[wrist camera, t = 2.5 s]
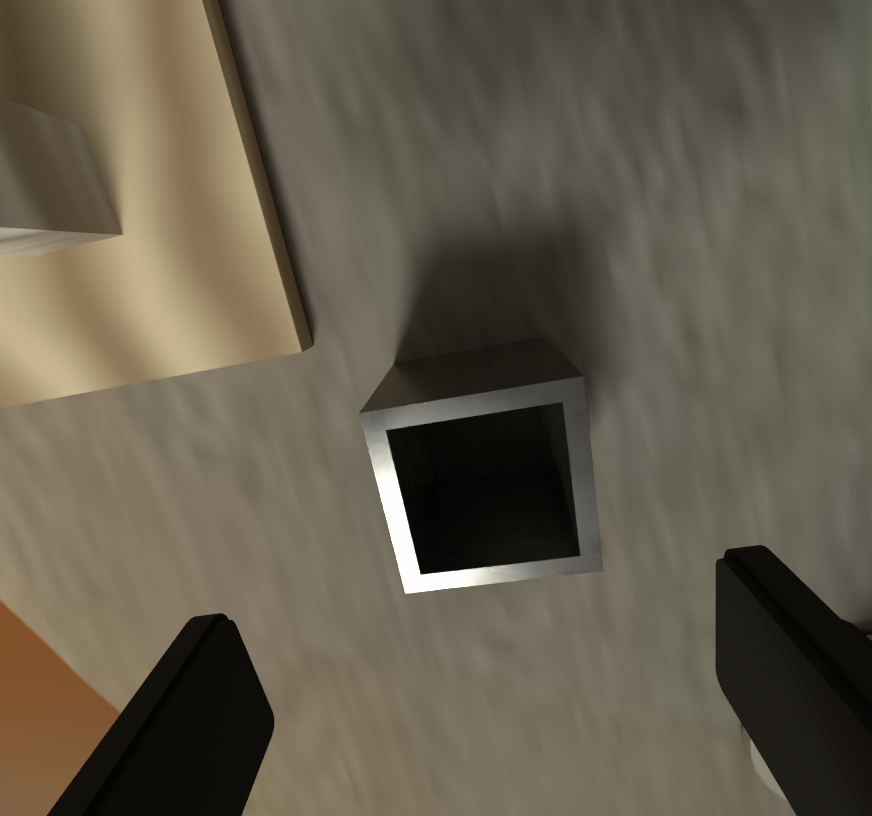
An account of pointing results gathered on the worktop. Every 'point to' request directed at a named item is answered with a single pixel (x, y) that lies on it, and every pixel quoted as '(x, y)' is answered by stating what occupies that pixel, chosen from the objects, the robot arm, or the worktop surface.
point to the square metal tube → (494, 494)
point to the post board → (131, 202)
